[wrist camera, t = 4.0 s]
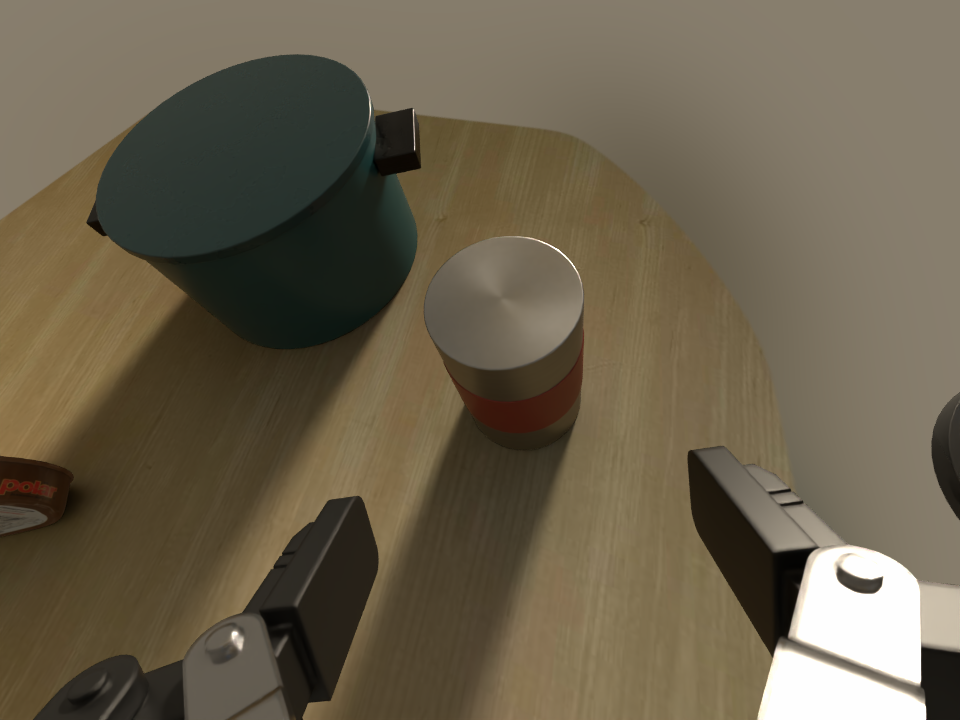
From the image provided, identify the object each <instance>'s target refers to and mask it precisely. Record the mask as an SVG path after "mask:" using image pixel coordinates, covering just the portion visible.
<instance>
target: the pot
mask: <svg viewBox="0 0 960 720" xmlns="http://www.w3.org/2000/svg"><path fill="white" fill-rule="evenodd" d="M420 168H421V158H420V136H419V123H418V120H417V117H416V114H415V111H414V109H413V108H410V109H405V110H401V111H396V112H392V113H387V114H383V115H379V116H376V117H375V121H374V108H373V104H372V101H371V98H370V95H369V93H368V90H367V89H366V86H365V85H364V83H363V81H362V80H361V79H360V78H359V77H358V76H357V74H356V73H355V72H354V71H352V70H351V69H349V68H348V67H346V66H345V65H343V64H341V63H338V62H337V61H334V60H331V59H328V58H324V57H318V56H313V55H298V54H297V55H279V56H272V57H266V58H261V59H256V60H251V61H248V62H245V63H241V64H238V65H235V66H232V67H229V68H227V69H224V70H221V71H219V72H216V73H214V74H212V75H210V76H207V77H205V78H203V79H201V80H199V81H197V82H195V83H193V84H191V85H190V86H188V87H186V88H185V89H183V90H181V91H179V92H178V93H176V94H175V95H173V96H172V97H170V98H169V99H167V100H166V101H164V102H163V103H162V104H160V105H159V106H158V107H157V108H155V109H154V110H153V111H151V112H150V113H149V114H148V115H147V116H146V117H145V118H143V119H142V120H141V121H140V122H139V123H138V124H137V125H136V126H135V127H134V128H133V129H132V130H131V131H130V132H129V133H128V134H127V136H126V137H125V138H124V139H123V141H122V142H121V143H120V144H119V146H118V147H117V148H116V150H115V151H114V153H113V154H112V156H111V157H110V159H109V161H108V163H107V164H106V166H105V168H104V170H103V172H102V175H101V178H100V181H99V184H98V188H97V194H96V201H95V203H94V206H93V208H92V210H91V213H90V215H89V218H88V220H87V222H86V223H87V224H88V225H89V226H90V227H92V228H93V229H94V230H95V231H97V232H98V233H99V234H101V235H102V236H107V235H108V236H109V238H110V239H111V240H112V241H113V242H115V243H116V244H117V245H118V246H120V247H121V248H122V249H124V250H125V251H127V252H128V253H129V254H132V255H134V256H136V257H138V258H141V259H144V260H146V261H147V262H148V263H150V264H151V265H152V266H153V267H155V268H156V269H157V270H158V271H159V272H161V273H162V274H163V275H164V276H166V277H167V278H168V279H169V280H170V281H172V282H173V283H174V284H175V285H177V286H178V287H179V288H180V289H181V290H183V291H184V292H185V293H186V294H188V295H189V296H190V297H191V298H193V299H194V300H195V301H196V302H197V303H199V304H200V305H201V306H202V307H204V308H205V309H206V310H207V311H208V312H210V313H211V314H212V315H213V316H215V317H216V318H217V319H218V320H219V321H221V322H222V323H223V324H224V325H226V326H227V327H228V328H229V329H230V330H232V331H233V332H234V333H236V334H237V335H238V336H240V337H241V338H243V339H245V340H247V341H249V342H251V343H253V344H256V345H260V346H263V347H269V348H276V349H295V348H304V347H309V346H314V345H318V344H322V343H324V342H327V341H330V340H333V339H336V338H338V337H340V336H342V335H344V334H346V333H348V332H350V331H352V330H354V329H355V328H357V327H359V326H360V325H362V324H364V323H365V322H366V321H368V320H369V319H370V318H372V317H373V316H374V315H376V314H377V313H378V312H379V311H380V310H381V309H382V308H383V307H384V306H385V305H386V304H387V303H388V302H389V301H390V300H391V299H392V297H393V296H394V295H395V294H396V293H397V291H398V290H399V288H400V287H401V285H402V284H403V283H404V281H405V279H406V277H407V275H408V273H409V271H410V269H411V266H412V264H413V261H414V258H415V253H416V248H417V228H416V223H415V220H414V217H413V214H412V212H411V209H410V207H409V204H408V202H407V199H406V197H405V195H404V192H403V190H402V187H401V185H400V182H399V180H398V177H397V175H396V174H397V173H401V172H406V171H411V170H415V169H420Z"/></svg>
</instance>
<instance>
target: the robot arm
mask: <svg viewBox="0 0 960 720" xmlns="http://www.w3.org/2000/svg"><path fill="white" fill-rule="evenodd" d="M688 473H689V486H690V499H691V510H692V516H693V520H694V523H695V526H696V529H697V532H698V534H699V536H700V537H701V539H702V541H703V542H704V544H705V546H706V547H707V549H708V551H709V552H710V554H711V556H712V557H713V559H714V561H715V562H716V564H717V566H718V567H719V569H720V571H721V572H722V574H723V576H724V577H725V579H726V581H727V582H728V584H729V586H730V587H731V589H732V591H733V592H734V594H735V596H736V597H737V599H738V601H739V602H740V604H741V606H742V607H743V609H744V611H745V612H746V614H747V616H748V617H749V619H750V621H751V622H752V624H753V626H754V627H755V629H756V631H757V632H758V634H759V636H760V637H761V639H762V641H763V642H764V644H765V646H766V647H767V649H768V651H769V652H770V654H771V656H772V657H773V661H772V665H771V669H770V673H769V676H768V680H767V684H766V688H765V691H764V695H763V699H762V703H761V706H760V710H759V714H758V718H757V720H960V585H953V584H944V583H935V582H927V581H921V580H916V579H915V578H914V576H913V575H912V574H911V573H910V572H909V571H908V570H907V569H906V568H905V567H904V566H902V565H901V564H899V563H898V562H896V561H895V560H893V559H891V558H889V557H887V556H885V555H883V554H881V553H878V552H875V551H873V550H870V549H866V548H862V547H857V546H851V545H848V544H847V543H846V542H845V541H844V540H843V539H842V538H841V537H840V536H839V535H838V534H837V533H836V532H835V531H834V530H833V529H832V528H831V527H830V526H829V525H828V524H827V523H826V522H824V521H823V520H822V519H821V518H820V517H819V516H818V515H817V514H816V513H815V512H814V511H813V510H812V509H811V508H810V507H809V506H808V505H807V504H804V503H803V500H802V499H801V498H800V497H799V496H798V495H796V494H795V493H794V492H791V489H790V488H789V487H788V486H787V485H786V484H785V483H784V482H783V481H782V480H781V479H780V478H779V477H778V476H777V475H776V474H774V473H771V472H769V471H767V470H765V469H763V468H761V467H759V466H757V465H755V464H748V465H742V464H741V463H740V462H739V461H738V460H737V459H736V458H735V457H734V456H733V455H732V453H731V452H730V451H729V450H728V449H727V448H726V447H724V446H717V447H710V448H703V449H696V450H690V451H689V452H688ZM377 571H378V549H377V545H376V542H375V538H374V535H373V531H372V528H371V525H370V521H369V518H368V515H367V511H366V508H365V505H364V502H363V500H362V498H361V497H359V496H353V497H346V498H339V499H332V500H329V501H327V503H326V504H325V506H324V507H323V509H322V511H321V512H320V514H319V515H318V517H317V519H316V520H315V522H311V523H309V524H307V525H306V526H305V527H304V528H303V529H302V530H301V531H299V532H298V533H297V534H296V535H295V536H294V537H293V538H292V539H291V541H290V542H289V544H288V545H287V547H286V548H285V550H284V551H283V552H282V556H280V557H279V558H278V560H277V561H276V563H275V564H274V569H271V570H270V572H269V573H268V575H267V576H266V578H265V579H264V581H263V582H262V584H261V585H260V587H259V588H258V590H257V591H256V593H255V594H254V596H253V597H252V599H251V600H250V602H249V603H248V605H247V606H246V608H245V609H244V611H243V612H242V613H240V614H236V615H233V616H230V617H228V618H226V619H224V620H222V621H220V622H218V623H216V624H215V625H213V626H212V627H210V628H209V629H208V630H206V631H205V632H204V633H203V634H201V635H200V636H199V637H198V638H197V639H196V640H195V642H194V643H193V644H192V645H191V646H190V648H189V649H188V651H187V653H186V655H185V657H184V659H183V660H180V661H177V662H175V663H172V664H169V665H166V666H164V667H161V668H158V669H156V670H153V671H150V672H147V673H145V674H144V673H143V671H142V669H141V667H140V665H139V663H138V661H137V659H136V658H135V657H134V656H131V655H119V656H115V657H111V658H108V659H106V660H103V661H101V662H99V663H97V664H95V665H93V666H91V667H90V668H88V669H86V670H85V671H83V672H82V673H80V674H79V675H77V676H76V677H75V678H73V679H72V680H71V681H69V682H68V683H67V684H66V685H65V686H64V687H63V688H61V689H60V690H59V691H58V692H57V693H56V694H55V696H54V697H53V698H52V699H51V700H50V701H49V702H48V703H47V704H46V706H45V707H44V708H43V709H42V710H41V711H40V712H39V713H38V714H37V716H36V717H35V718H34V719H33V720H303V718H302V716H303V714H304V712H305V709H306V707H307V704H308V703H311V702H322V701H331V698H332V695H333V693H334V690H335V687H336V684H337V682H338V679H339V676H340V673H341V671H342V668H343V665H344V662H345V660H346V657H347V654H348V651H349V649H350V646H351V643H352V640H353V638H354V635H355V632H356V630H357V627H358V624H359V621H360V619H361V616H362V613H363V610H364V608H365V605H366V602H367V599H368V597H369V594H370V591H371V588H372V586H373V583H374V580H375V577H376V575H377Z"/></svg>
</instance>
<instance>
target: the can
mask: <svg viewBox="0 0 960 720" xmlns="http://www.w3.org/2000/svg"><path fill="white" fill-rule="evenodd" d="M583 315H584V290H583V284H582V281H581V278H580V275H579V274H578V272H577V270H576V268H575V267H574V265H573V264H572V263H571V261H570V260H569V259H568V258H567V257H566V256H565V255H564V254H563V253H561V252H560V251H559V250H557V249H556V248H554V247H552V246H551V245H549V244H546V243H544V242H542V241H539V240H535V239H532V238H526V237H516V236H507V237H497V238H491V239H487V240H483V241H480V242H478V243H475V244H473V245H470V246H468V247H466V248H464V249H463V250H461V251H459V252H458V253H456V254H455V255H454V256H452V257H451V258H450V259H449V260H448V261H447V262H446V263H445V264H443V266H442V267H441V268H440V269H439V270H438V271H437V273H436V274H435V276H434V277H433V279H432V281H431V283H430V285H429V287H428V290H427V293H426V297H425V302H424V318H425V324H426V327H427V330H428V332H429V334H430V337H431V339H432V340H433V342H434V344H435V346H436V348H437V350H438V352H439V354H440V356H441V358H442V360H443V362H444V365H445V367H446V369H447V371H448V373H449V375H450V377H451V379H452V381H453V383H454V385H455V387H456V388H457V390H458V392H459V394H460V396H461V398H462V400H463V402H464V404H465V405H466V407H467V408H468V410H469V411H470V413H471V415H472V417H473V419H474V420H475V422H476V424H477V426H478V427H479V429H480V430H481V431H482V432H483V433H484V435H486V436H487V437H488V438H489V439H490V440H492V441H494V442H495V443H497V444H499V445H501V446H504V447H507V448H510V449H516V450H533V449H537V448H541V447H544V446H547V445H549V444H551V443H553V442H555V441H556V440H558V439H559V438H561V437H562V436H563V435H564V434H565V433H566V432H567V431H568V430H569V429H570V427H571V426H572V424H573V423H574V421H575V419H576V417H577V415H578V412H579V409H580V402H581V385H582V377H583V350H584V330H583Z"/></svg>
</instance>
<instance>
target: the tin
mask: <svg viewBox="0 0 960 720" xmlns="http://www.w3.org/2000/svg"><path fill="white" fill-rule="evenodd" d="M73 478H74V477H73V474H72V473H71V472H70V471H69V470H67V469H65V468H63V467H60V466H57V465H54V464H50V463H47V462H42V461H36V460H30V459H23V458H15V457H4V456H0V537H2V536H7V535H11V534H16V533H20V532H25V531H29V530H34V529H38V528H42V527H45V526H48V525H51V524H53V523H55V522H57V521H58V520H59V519H60V518H61V517H62V515H63V513H64V510H65V506H66V502H67V497H68V492H69V487H70V483H71V482H72V481H73Z"/></svg>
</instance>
